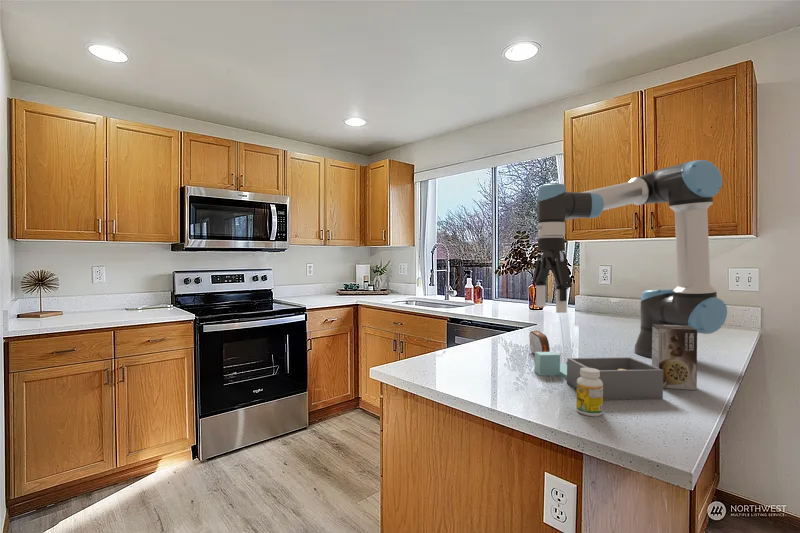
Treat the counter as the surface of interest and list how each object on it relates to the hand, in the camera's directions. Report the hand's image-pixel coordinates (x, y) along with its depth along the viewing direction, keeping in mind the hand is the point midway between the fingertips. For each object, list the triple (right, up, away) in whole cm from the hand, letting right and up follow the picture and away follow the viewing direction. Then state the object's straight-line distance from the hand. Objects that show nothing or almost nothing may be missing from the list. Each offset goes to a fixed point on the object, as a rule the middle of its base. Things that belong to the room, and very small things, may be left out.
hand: (550, 309), depth 125 cm
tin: (+3, -19, +21) cm, 28 cm away
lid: (+8, -19, +1) cm, 21 cm away
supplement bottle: (-2, -20, -31) cm, 37 cm away
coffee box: (+29, -20, -11) cm, 37 cm away
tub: (+10, -20, -16) cm, 27 cm away
